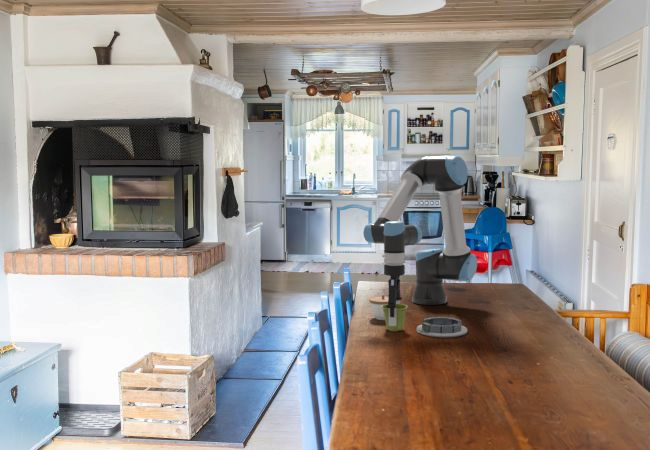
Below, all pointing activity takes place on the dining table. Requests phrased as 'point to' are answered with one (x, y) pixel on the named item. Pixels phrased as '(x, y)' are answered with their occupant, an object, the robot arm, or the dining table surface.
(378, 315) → the lidded jar
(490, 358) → the dining table surface
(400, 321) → the plant pot
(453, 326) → the hub
